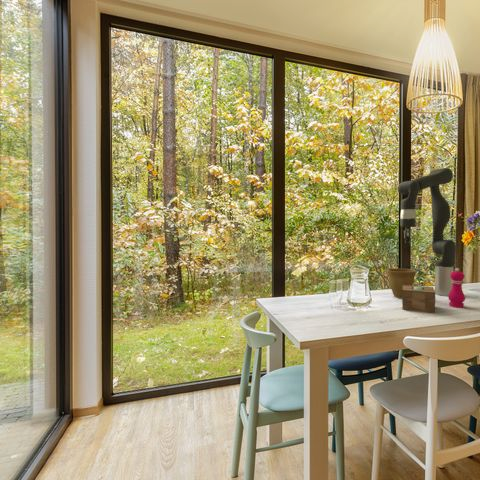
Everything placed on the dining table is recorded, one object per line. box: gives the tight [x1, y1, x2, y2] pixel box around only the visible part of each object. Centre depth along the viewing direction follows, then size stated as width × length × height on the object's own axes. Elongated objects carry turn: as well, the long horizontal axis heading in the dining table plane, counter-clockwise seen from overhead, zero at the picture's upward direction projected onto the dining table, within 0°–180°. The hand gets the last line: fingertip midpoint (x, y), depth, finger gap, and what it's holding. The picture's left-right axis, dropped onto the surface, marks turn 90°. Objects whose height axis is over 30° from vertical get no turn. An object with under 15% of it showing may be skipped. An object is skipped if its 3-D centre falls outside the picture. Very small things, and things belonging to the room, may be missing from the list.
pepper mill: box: [447, 267, 466, 309], centre depth 162 cm, size 7×7×20 cm
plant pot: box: [386, 268, 416, 299], centre depth 184 cm, size 15×15×16 cm
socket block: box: [401, 285, 436, 314], centre depth 160 cm, size 14×14×10 cm
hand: (407, 249), depth 172 cm, fingers closed
